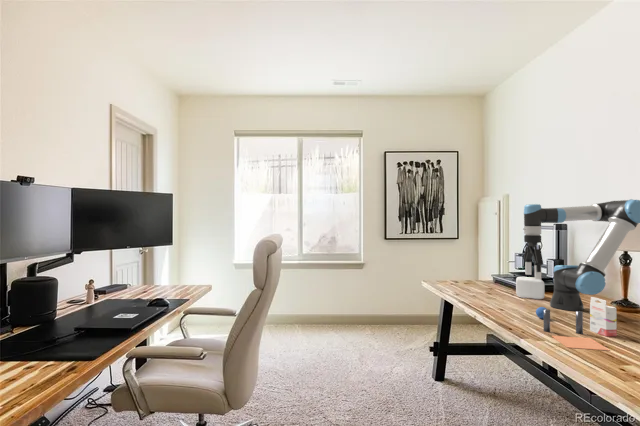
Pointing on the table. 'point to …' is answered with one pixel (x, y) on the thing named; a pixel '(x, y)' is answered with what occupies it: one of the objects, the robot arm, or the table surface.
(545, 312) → the post
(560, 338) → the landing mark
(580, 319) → the post
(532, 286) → the cable organizer
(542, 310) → the ball
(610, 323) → the ink cartridge box
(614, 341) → the table surface
